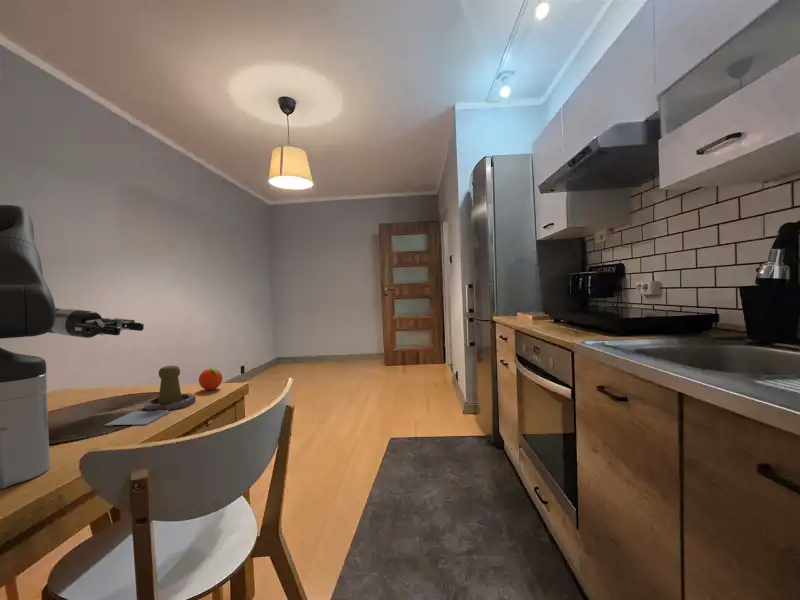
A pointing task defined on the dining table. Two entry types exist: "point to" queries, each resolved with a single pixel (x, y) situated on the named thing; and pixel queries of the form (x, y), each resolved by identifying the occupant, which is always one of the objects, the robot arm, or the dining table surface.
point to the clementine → (210, 379)
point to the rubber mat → (138, 418)
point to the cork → (169, 385)
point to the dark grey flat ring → (153, 406)
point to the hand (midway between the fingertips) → (131, 329)
